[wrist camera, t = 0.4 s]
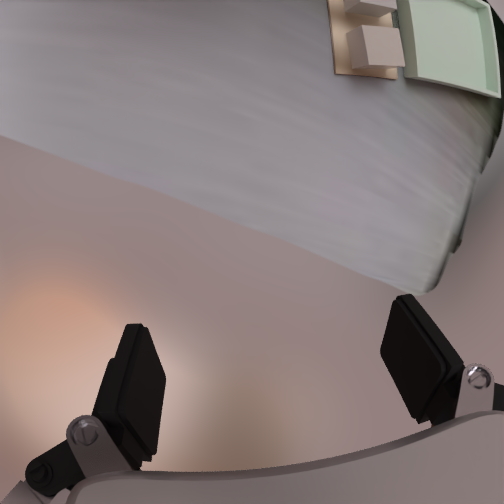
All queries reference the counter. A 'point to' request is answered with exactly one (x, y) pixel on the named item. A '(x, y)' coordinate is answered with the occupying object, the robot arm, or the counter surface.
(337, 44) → the birch board
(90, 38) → the counter surface
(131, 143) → the counter surface
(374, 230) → the counter surface
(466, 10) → the tub
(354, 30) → the stone
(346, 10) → the stone
